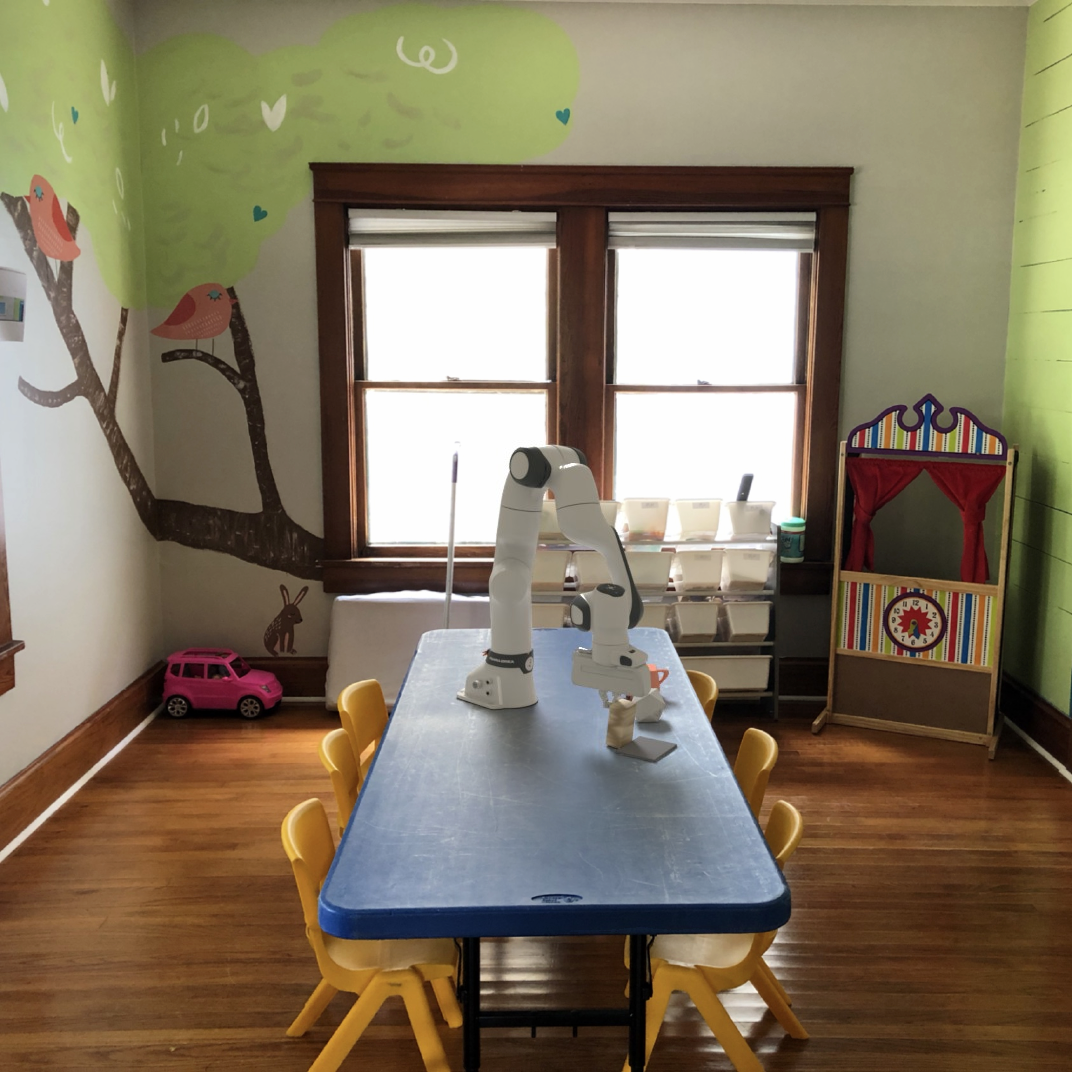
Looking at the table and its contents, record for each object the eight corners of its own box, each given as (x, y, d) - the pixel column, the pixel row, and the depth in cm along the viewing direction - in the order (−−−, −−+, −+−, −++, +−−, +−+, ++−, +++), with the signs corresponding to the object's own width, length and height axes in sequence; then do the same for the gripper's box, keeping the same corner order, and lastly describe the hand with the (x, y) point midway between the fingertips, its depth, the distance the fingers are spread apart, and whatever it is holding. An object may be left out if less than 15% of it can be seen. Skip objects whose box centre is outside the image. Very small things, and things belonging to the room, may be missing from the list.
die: (655, 731, 263) (675, 696, 265) (624, 712, 264) (644, 677, 265) (650, 731, 271) (670, 698, 273) (621, 713, 272) (640, 680, 274)
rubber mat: (616, 753, 246) (616, 751, 246) (639, 738, 256) (639, 735, 256) (654, 762, 240) (654, 759, 240) (677, 746, 250) (677, 744, 250)
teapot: (639, 687, 296) (640, 654, 295) (671, 697, 287) (671, 663, 286) (610, 695, 289) (610, 661, 287) (641, 706, 280) (642, 670, 278)
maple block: (605, 744, 251) (610, 705, 248) (617, 736, 256) (622, 698, 253) (620, 749, 249) (624, 709, 246) (632, 741, 254) (636, 702, 251)
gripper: (566, 649, 253) (566, 704, 255) (642, 662, 242) (641, 719, 244) (579, 643, 258) (579, 697, 260) (654, 655, 247) (653, 711, 250)
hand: (609, 708), depth 252 cm, fingers closed
